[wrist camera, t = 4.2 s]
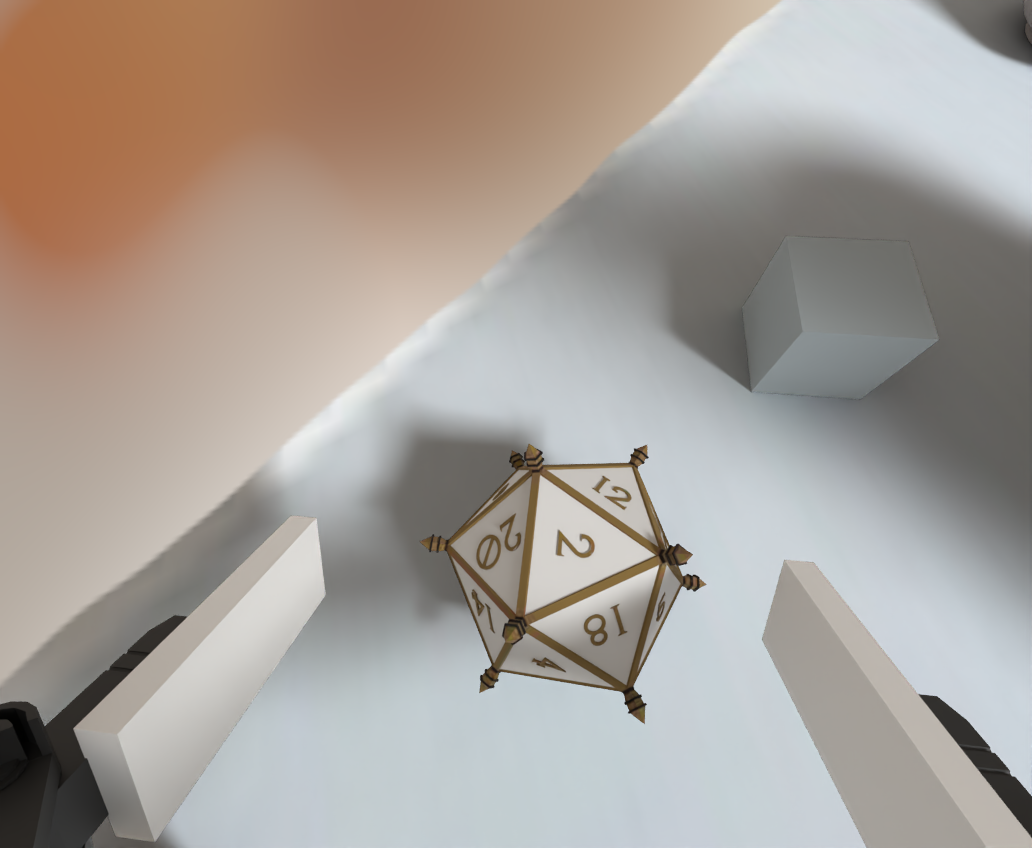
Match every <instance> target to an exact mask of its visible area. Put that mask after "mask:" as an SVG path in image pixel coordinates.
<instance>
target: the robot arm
mask: <svg viewBox="0 0 1032 848" xmlns="http://www.w3.org/2000/svg"><path fill="white" fill-rule="evenodd" d="M325 595H326V593H325V585H324V576H323V568H322V560H321V551H320V543H319V535H318V526H317V518H313V517H301V516H290V517H289V518H288V519H287V520H286V521H285V522H284V523H283V524H282V525H281V526H280V527H279V528H278V529H277V530H276V531H275V532H274V533H273V534H272V535H271V536H270V537H269V538H268V539H267V540H266V541H265V542H264V543H263V544H262V545H261V546H260V547H259V548H258V549H257V550H256V551H254V552H253V553H252V554H251V555H250V556H249V557H248V558H247V559H246V560H245V561H244V562H243V563H242V564H241V565H240V566H239V567H238V568H237V569H236V570H235V571H234V572H233V573H232V574H231V575H230V576H229V577H228V578H227V579H226V580H225V581H224V582H223V583H222V584H221V585H220V586H219V587H218V588H217V589H216V590H215V591H214V592H213V593H212V594H211V595H209V596H208V597H207V598H206V599H205V600H204V601H203V602H202V603H201V604H200V605H199V606H198V607H197V608H196V609H195V610H194V611H193V612H192V613H191V614H190V615H189V616H188V617H185V616H176V615H175V616H173V617H171V618H170V619H168V620H166V621H165V622H163V623H161V624H160V625H158V626H156V627H154V628H153V629H151V630H149V631H148V632H147V633H146V634H145V635H144V636H143V637H142V638H140V639H139V640H138V641H137V642H136V643H135V644H134V645H133V646H132V647H131V648H130V649H128V652H127V654H123V655H122V656H121V657H120V658H119V659H118V660H117V661H115V662H114V663H113V664H112V665H111V666H110V669H109V670H108V671H107V670H106V671H105V672H103V673H102V674H101V675H100V676H99V677H98V678H97V679H96V680H95V681H94V682H93V683H92V684H90V685H89V686H88V687H87V688H86V689H85V690H84V691H83V692H82V693H81V694H80V695H78V696H77V697H76V698H75V699H74V700H73V701H72V702H71V703H70V704H69V705H68V706H67V707H65V708H64V709H63V710H62V711H61V712H60V713H59V714H58V715H57V716H56V717H55V718H53V719H52V720H51V721H50V722H49V723H48V724H47V725H46V726H45V727H44V724H43V722H42V720H41V717H40V715H39V712H38V710H37V708H36V707H35V706H33V705H32V704H30V703H28V702H8V703H4V704H0V848H93V844H92V838H91V836H92V834H93V833H94V832H95V831H96V829H97V828H98V827H99V826H100V824H101V823H102V822H103V821H104V819H105V818H106V817H107V816H108V818H109V821H110V824H111V826H112V829H113V831H114V834H115V836H116V837H122V838H128V839H135V840H142V841H149V842H156V840H157V839H158V837H159V836H160V834H161V833H162V831H163V830H164V829H165V827H166V826H167V824H168V823H169V821H170V820H171V818H172V817H173V816H174V814H175V813H176V811H177V810H178V808H179V807H180V805H181V804H182V802H183V801H184V800H185V798H186V797H187V795H188V794H189V792H190V791H191V789H192V788H193V787H194V785H195V784H196V782H197V781H198V779H199V778H200V776H201V775H202V773H203V772H204V771H205V769H206V768H207V766H208V765H209V763H210V762H211V760H212V759H213V758H214V756H215V755H216V753H217V752H218V750H219V749H220V747H221V746H222V744H223V743H224V742H225V740H226V739H227V737H228V736H229V734H230V733H231V731H232V730H233V729H234V727H235V726H236V724H237V723H238V721H239V720H240V718H241V717H242V715H243V714H244V713H245V711H246V710H247V708H248V707H249V705H250V704H251V702H252V701H253V700H254V698H255V697H256V695H257V694H258V692H259V691H260V689H261V688H262V686H263V685H264V684H265V682H266V681H267V679H268V678H269V676H270V675H271V673H272V672H273V671H274V669H275V668H276V666H277V665H278V663H279V662H280V660H281V659H282V657H283V656H284V655H285V653H286V652H287V650H288V649H289V647H290V646H291V644H292V643H293V642H294V640H295V639H296V637H297V636H298V634H299V633H300V631H301V630H302V628H303V627H304V626H305V624H306V623H307V621H308V620H309V618H310V617H311V615H312V614H313V613H314V611H315V610H316V608H317V607H318V605H319V604H320V602H321V601H322V599H323V598H324V597H325ZM762 641H763V643H764V645H765V647H766V649H767V651H768V653H769V655H770V657H771V659H772V661H773V663H774V664H775V666H776V668H777V670H778V672H779V674H780V676H781V678H782V680H783V682H784V684H785V686H786V688H787V690H788V692H789V694H790V696H791V698H792V700H793V702H794V704H795V706H796V708H797V710H798V712H799V714H800V716H801V718H802V720H803V722H804V724H805V726H806V728H807V730H808V732H809V734H810V736H811V738H812V740H813V742H814V744H815V746H816V748H817V750H818V752H819V754H820V756H821V758H822V760H823V762H824V764H825V766H826V768H827V770H828V772H829V774H830V776H831V778H832V780H833V782H834V784H835V786H836V788H837V790H838V792H839V794H840V796H841V798H842V800H843V802H844V804H845V806H846V808H847V810H848V812H849V814H850V816H851V818H852V820H853V822H854V824H855V825H856V827H857V829H858V831H859V833H860V835H861V837H862V839H863V841H864V843H865V845H866V847H867V848H1032V796H1031V795H1030V794H1029V793H1028V791H1027V790H1026V789H1025V788H1024V787H1023V785H1022V784H1021V783H1020V782H1019V781H1018V780H1017V778H1016V777H1013V776H1011V774H1010V770H1009V769H1008V768H1007V767H1006V765H1005V764H1004V763H1003V762H1002V761H1001V760H1000V758H999V757H998V756H997V755H996V754H995V753H992V752H991V750H990V747H989V746H988V744H987V743H986V742H985V741H984V740H983V738H982V737H981V736H980V735H979V734H978V733H977V731H976V730H975V729H974V728H973V727H972V726H971V724H970V723H969V722H968V721H967V720H966V719H965V718H963V717H962V716H961V715H960V714H958V713H957V712H956V711H955V710H953V709H952V708H951V707H950V706H948V705H947V704H946V703H945V702H943V701H942V700H941V699H940V698H938V697H937V696H929V695H920V694H918V693H917V692H916V691H915V690H914V688H913V687H912V686H911V685H910V683H909V682H908V681H907V680H906V678H905V677H904V676H903V675H902V673H901V672H900V671H899V669H898V668H897V667H896V666H895V664H894V663H893V662H892V661H891V659H890V658H889V657H888V656H887V654H886V653H885V652H884V651H883V649H882V648H881V647H880V645H879V644H878V643H877V642H876V640H875V639H874V638H873V637H872V635H871V634H870V633H869V632H868V630H867V629H866V628H865V627H864V625H863V624H862V623H861V621H860V620H859V619H858V618H857V616H856V615H855V614H854V613H853V611H852V610H851V609H850V608H849V606H848V605H847V604H846V603H845V601H844V600H843V599H842V597H841V596H840V595H839V594H838V592H837V591H836V590H835V589H834V587H833V586H832V585H831V584H830V582H829V581H828V580H827V578H826V577H825V576H824V575H823V573H822V572H821V571H820V570H819V568H818V567H817V566H816V565H815V563H814V562H802V561H791V560H784V563H783V566H782V570H781V574H780V577H779V581H778V584H777V588H776V591H775V595H774V598H773V602H772V605H771V609H770V613H769V616H768V620H767V623H766V627H765V630H764V634H763V637H762Z"/></svg>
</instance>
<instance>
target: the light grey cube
mask: <svg viewBox="0 0 1032 848" xmlns="http://www.w3.org/2000/svg"><path fill="white" fill-rule="evenodd" d="M742 314H743V323H744V332H745V341H746V350H747V359H748V368H749V377H750V386H751V392H758V393H773V394H787V395H801V396H816V397H830V398H845V399H859V400H860V399H862V398H863V397H864V396H866V395H867V394H868V393H870V392H871V391H872V390H874V389H875V388H876V387H878V386H879V385H880V384H881V383H883V382H884V381H885V380H887V379H888V378H889V377H891V376H892V375H893V374H895V373H896V372H897V371H899V370H900V369H901V368H903V367H904V366H905V365H907V364H908V363H909V362H911V361H912V360H913V359H915V358H916V357H917V356H919V355H920V354H921V353H923V352H924V351H925V350H927V349H928V348H929V347H931V346H932V345H933V344H935V343H936V342H937V341H939V336H938V333H937V330H936V327H935V323H934V320H933V317H932V314H931V311H930V307H929V304H928V301H927V298H926V295H925V291H924V288H923V285H922V282H921V279H920V275H919V272H918V269H917V266H916V262H915V259H914V256H913V253H912V250H911V246H910V243H909V241H893V240H871V239H848V238H826V237H803V236H786V237H785V238H784V240H783V242H782V243H781V245H780V247H779V248H778V250H777V252H776V253H775V255H774V256H773V258H772V260H771V261H770V263H769V265H768V266H767V268H766V270H765V271H764V273H763V274H762V276H761V278H760V279H759V281H758V283H757V284H756V286H755V288H754V289H753V291H752V292H751V294H750V296H749V297H748V299H747V301H746V302H745V304H744V306H743V307H742Z"/></svg>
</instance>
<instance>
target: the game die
mask: <svg viewBox="0 0 1032 848" xmlns="http://www.w3.org/2000/svg"><path fill="white" fill-rule="evenodd" d="M542 454H543V453H542V451H540V450H538V449H536V448H534V447H533V446H532V445H530V444H529V445H528V448H527V451H526V452H525V453H524V460H525V461H527V466H524V462H525V461H524V460H523V459H522V458H523V456H522V455H521V454H520V453H516V452H514V451H512V453H511V457H510V460H509V462H510V463H512V467H514V468H515V469H516V471H515V472H514V473H513V474H512V475H511V476H510V477H509V478H508V479H507V480H506V481H505V482H504V483H503V484H502V485H501V486H500V487H499V488H498V489H497V490H496V491H495V492H494V494H493V495H492V496H491V497H490V498H489V499H488V500H487V501H486V502H485V503H484V504H483V505H482V506H481V507H480V508H479V509H478V510H477V511H476V512H475V513H474V514H473V515H472V516H471V517H470V518H469V520H468V521H467V522H466V523H465V524H464V525H463V526H462V527H461V528H460V529H459V530H458V531H457V532H456V533H455V534H454V535H453V536H452V537H451V538H450V539H449V540H445V539H443V538H441V536H439V537H435V536H434V534H433V535H432V536H431V537H429V538H427V539H425V540H422V541H420V543H422V544H423V545H424V546H425V547H426V548H428V549H429V550H430V551H429V552H431V551H437V553H438V552H439V551H443V550H445V551H447V553H448V555H449V558H450V560H451V563H452V565H453V568H454V570H455V573H456V575H457V578H458V580H459V583H460V586H461V588H462V591H463V593H464V596H465V598H466V601H467V603H468V606H469V608H470V611H471V613H472V616H473V618H474V621H475V623H476V626H477V628H478V631H479V633H480V636H481V638H482V641H483V644H484V646H485V649H486V651H487V654H488V656H489V659H490V661H491V664H492V666H491V667H490V668H489V669H485V673H484V674H483V675H481V676H480V681H481V684H480V692H483V691H485V690H487V689H489V688H494V687H495V686H494V684H495V682H498V679H497V678H498V675H499V673H500V672H507V673H513V674H519V675H524V676H530V677H536V678H542V679H548V680H554V681H560V682H566V683H572V684H578V685H584V686H590V687H596V688H602V689H608V690H614V691H620V692H622V693H623V694H624V696H625V701H626V702H625V705H627V707H628V709H629V712H628V713H629V714H630V713H631V714H632V715H633V716H635V717H636V718H637V719H639V720H640V721H641V722H642V723H644V724H645V706H646V705H647V704H646V703H643V701H642V699H641V697H642V696H641V695H639V694H638V693H637V692H636V691H635V690H634V687H633V686H634V683H635V681H636V679H637V677H638V675H639V673H640V671H641V669H642V667H643V665H644V663H645V661H646V659H647V657H648V655H649V653H650V651H651V649H652V646H653V644H654V642H655V640H656V638H657V636H658V634H659V632H660V630H661V628H662V626H663V624H664V622H665V620H666V618H667V616H668V614H669V612H670V609H671V607H672V605H673V603H674V601H675V599H676V597H677V595H678V593H679V591H680V589H681V587H682V586H683V587H685V588H687V590H690V589H692V590H693V591H694V592H695V591H696V590H698V589H699V588H700V587H702V586H704V585H706V584H705V583H704V582H703V581H702V580H701V579H699V577H698V576H696V575H693V576H691V575H689V574H687V575H686V576H682V574H681V571H680V569H679V566H680V565H684V564H687V560H688V559H689V558H690V557H691V556H692V555H693V554H691V553H690V552H688V551H687V550H685V549H684V548H683V547H682V546H680V545H679V544H676V546H674V547H673V546H672V545H669V543H668V540H667V538H666V536H665V533H664V531H663V529H662V526H661V524H660V521H659V519H658V517H657V514H656V512H655V510H654V507H653V505H652V502H651V500H650V498H649V495H648V493H647V491H646V488H645V486H644V483H643V481H642V479H641V476H640V474H639V472H638V466H640V465H641V464H644V463H645V462H644V461H645V459H648V458H649V457H648V456H647V445H645V446H643V447H640V448H638V449H635V448H634V453H633V454H631V455H630V456H631V460H630V462H629V463H607V464H568V465H542V462H543V461H544V458H542V456H541V455H542ZM480 692H479V693H480Z"/></svg>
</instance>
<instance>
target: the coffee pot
mask: <svg viewBox="0 0 1032 848" xmlns="http://www.w3.org/2000/svg"><path fill="white" fill-rule="evenodd" d="M1023 3H1024V16H1025V18H1026V20H1027V23H1026V25H1025V34H1026V36H1027V38H1028V40H1029V42H1030V43H1031V44H1032V0H1024V1H1023Z"/></svg>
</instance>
